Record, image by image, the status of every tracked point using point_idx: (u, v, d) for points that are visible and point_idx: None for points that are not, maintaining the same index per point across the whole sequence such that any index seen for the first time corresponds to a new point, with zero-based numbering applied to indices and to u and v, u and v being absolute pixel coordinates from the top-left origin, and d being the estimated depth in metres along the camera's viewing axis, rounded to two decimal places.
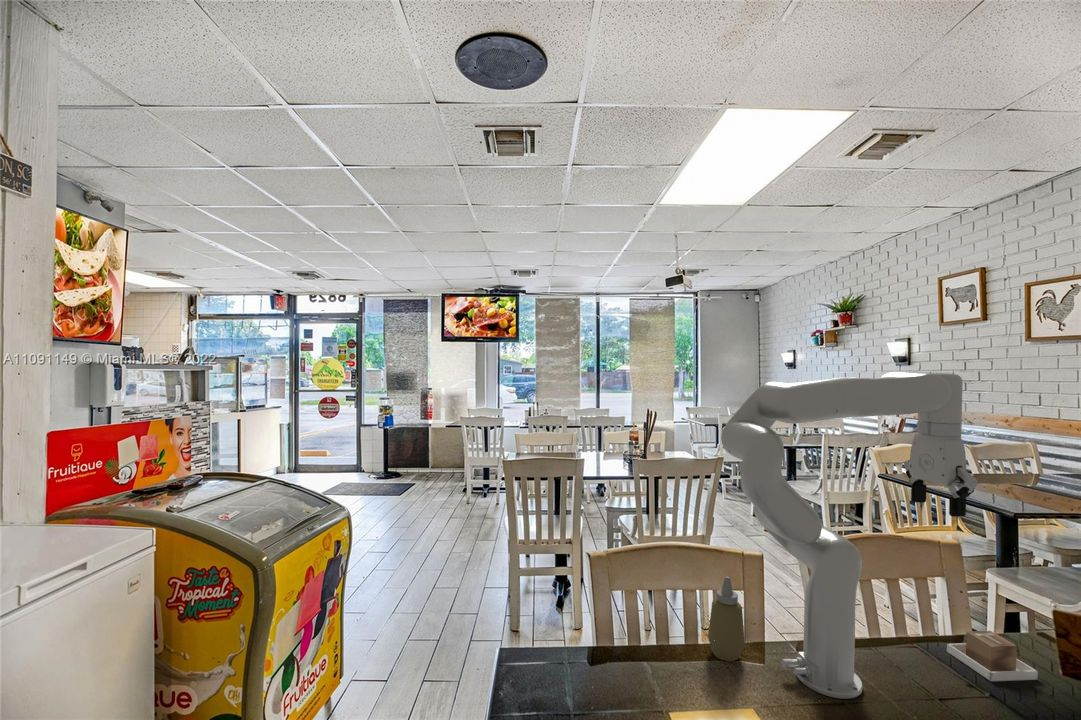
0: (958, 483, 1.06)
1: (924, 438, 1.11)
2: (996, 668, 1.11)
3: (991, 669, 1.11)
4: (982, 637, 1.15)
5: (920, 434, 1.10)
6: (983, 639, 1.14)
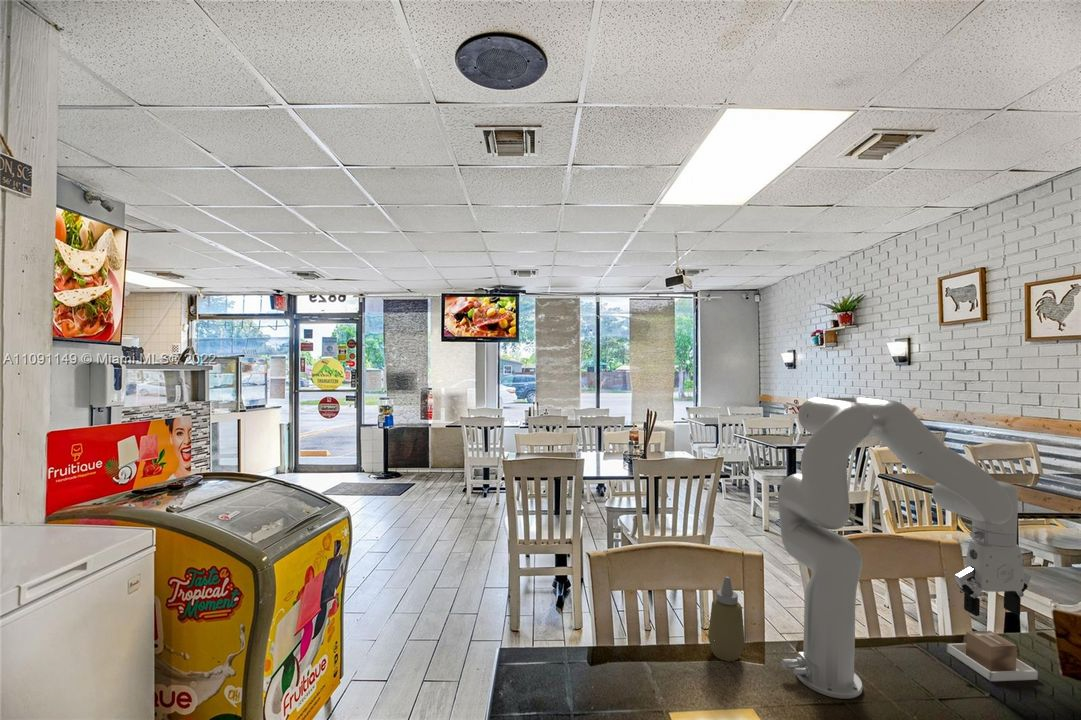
0: None
1: (1002, 549, 1.11)
2: (996, 668, 1.11)
3: (991, 669, 1.11)
4: (982, 637, 1.15)
5: (1007, 547, 1.10)
6: (983, 639, 1.14)
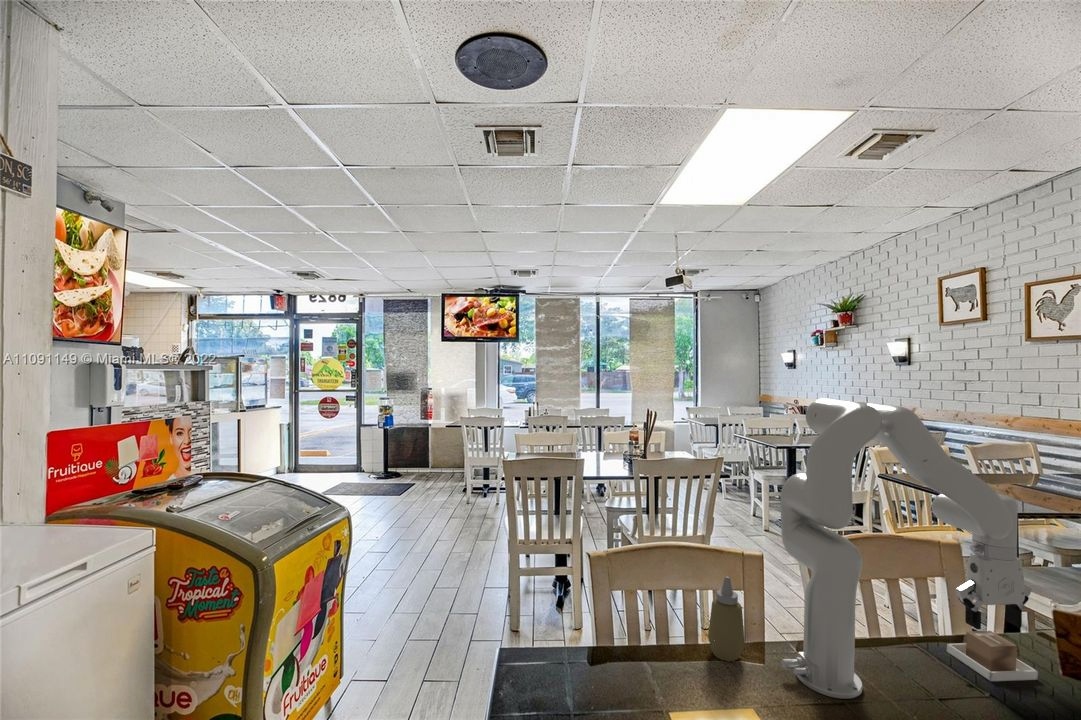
0: None
1: (1002, 563, 1.12)
2: (996, 668, 1.11)
3: (991, 669, 1.11)
4: (982, 637, 1.15)
5: (1007, 561, 1.11)
6: (983, 639, 1.14)
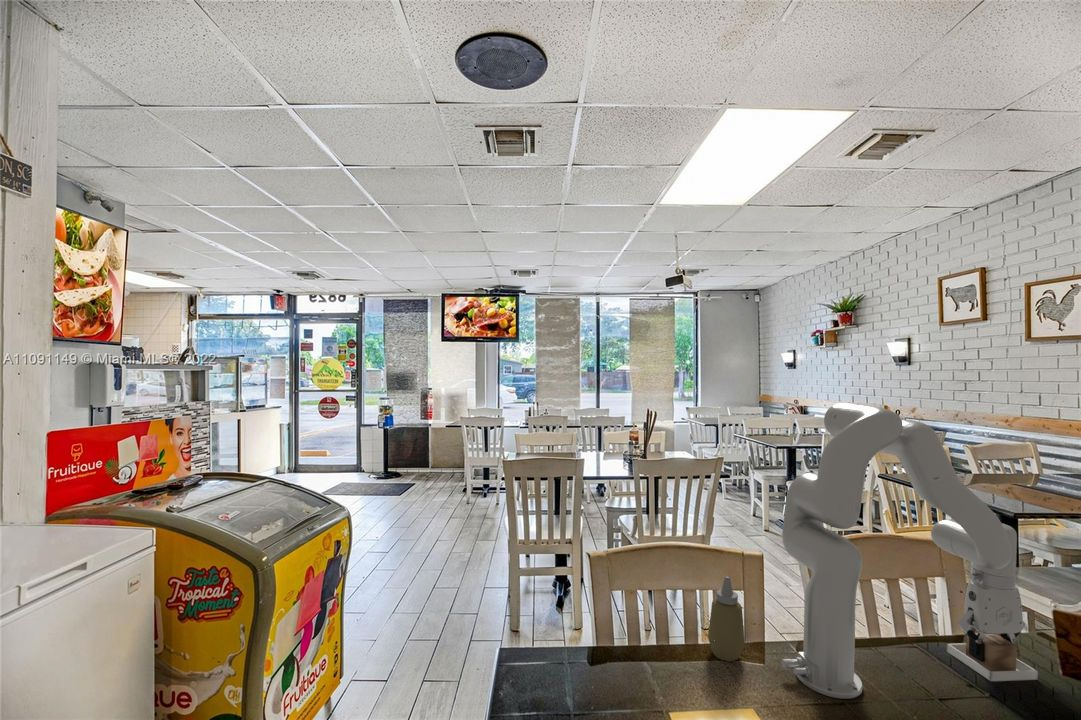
0: None
1: (1001, 592, 1.12)
2: (996, 668, 1.11)
3: (991, 669, 1.11)
4: None
5: (1005, 590, 1.11)
6: (983, 639, 1.14)
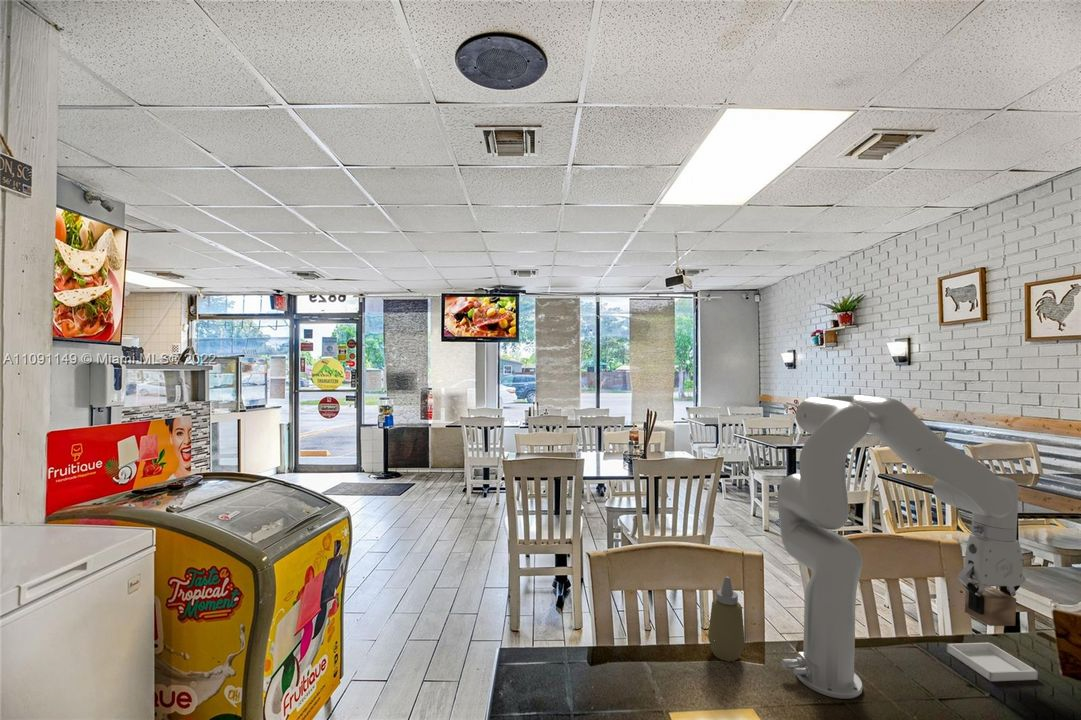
0: None
1: (1002, 544, 1.11)
2: (995, 620, 1.11)
3: (990, 621, 1.11)
4: None
5: (1006, 542, 1.10)
6: (983, 592, 1.14)
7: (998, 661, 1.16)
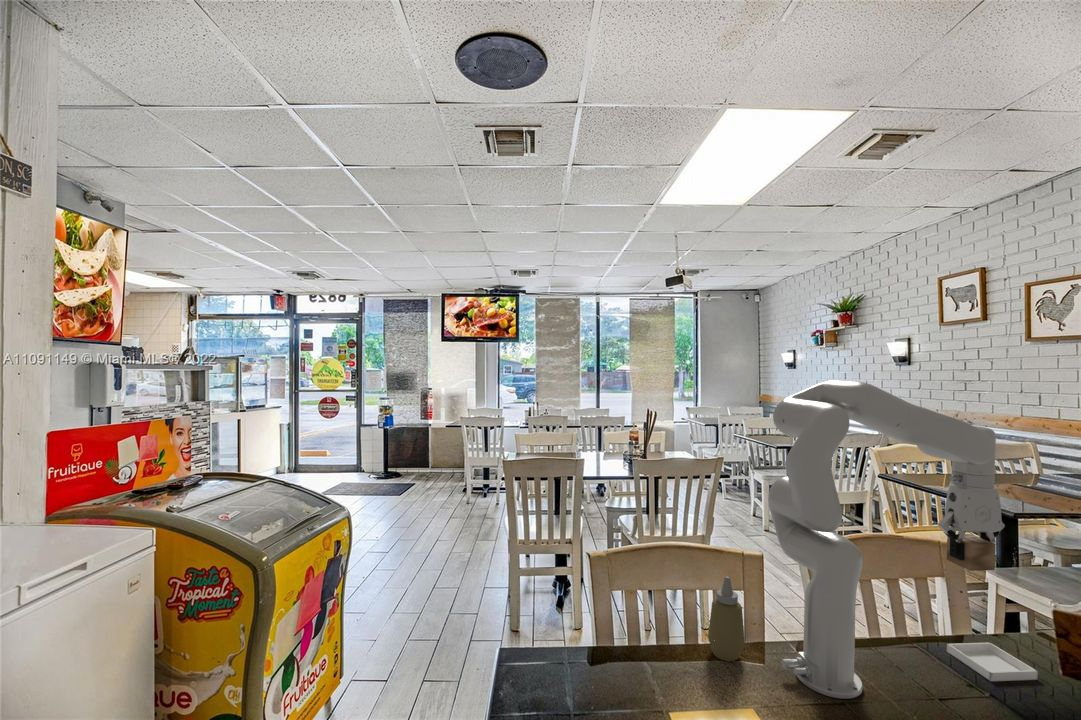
0: None
1: (980, 491, 1.15)
2: (975, 565, 1.14)
3: (970, 566, 1.14)
4: None
5: (984, 488, 1.14)
6: (963, 539, 1.17)
7: (998, 661, 1.16)
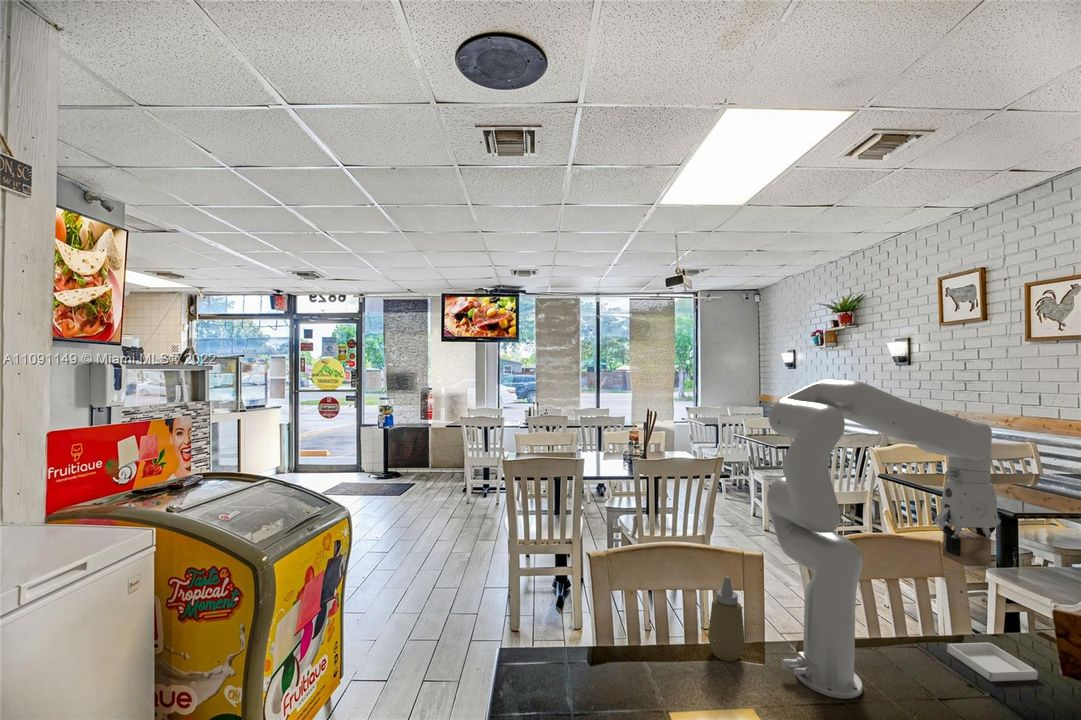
0: None
1: (976, 487, 1.14)
2: (971, 561, 1.14)
3: (966, 562, 1.14)
4: None
5: (980, 484, 1.13)
6: (959, 535, 1.17)
7: (998, 661, 1.16)
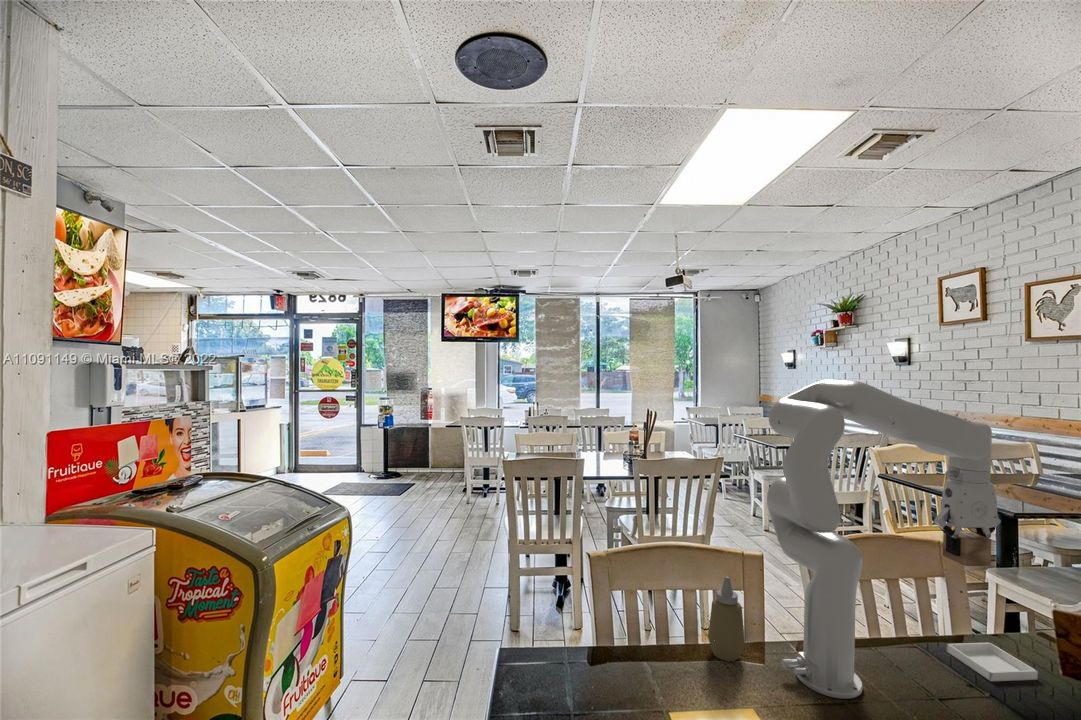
0: None
1: (976, 487, 1.14)
2: (971, 561, 1.14)
3: (966, 562, 1.14)
4: None
5: (980, 484, 1.13)
6: (959, 535, 1.17)
7: (998, 661, 1.16)
